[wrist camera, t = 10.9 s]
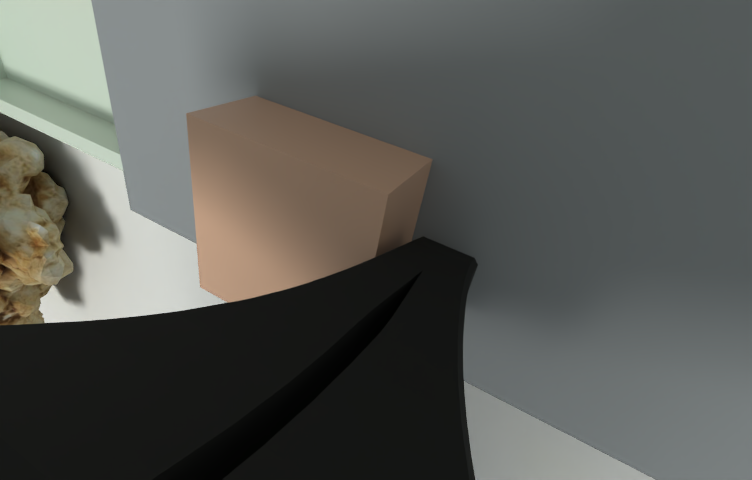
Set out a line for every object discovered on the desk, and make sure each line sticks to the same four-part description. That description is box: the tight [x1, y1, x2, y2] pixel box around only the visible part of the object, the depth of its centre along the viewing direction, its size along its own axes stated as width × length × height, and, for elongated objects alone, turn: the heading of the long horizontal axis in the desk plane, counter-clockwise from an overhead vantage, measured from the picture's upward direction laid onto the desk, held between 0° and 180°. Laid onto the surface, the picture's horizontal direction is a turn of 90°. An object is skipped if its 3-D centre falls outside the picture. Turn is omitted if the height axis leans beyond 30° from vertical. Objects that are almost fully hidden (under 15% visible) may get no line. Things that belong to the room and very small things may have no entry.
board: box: [91, 0, 752, 480], centre depth 9 cm, size 13×20×2 cm, turn 80°
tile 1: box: [186, 96, 433, 303], centre depth 10 cm, size 4×4×2 cm
